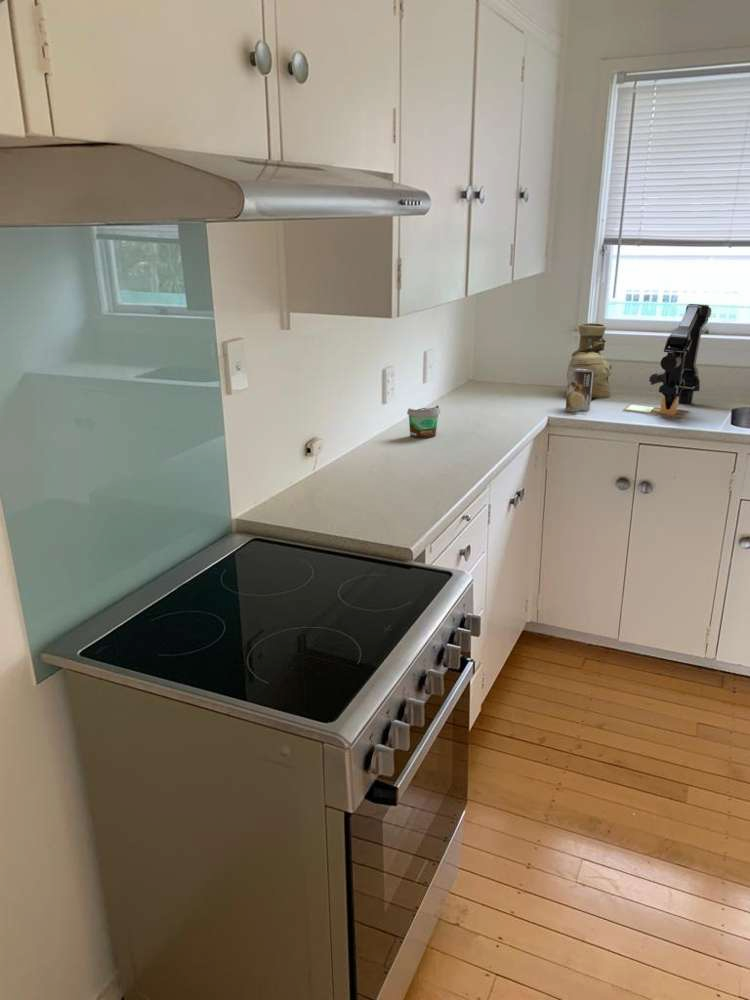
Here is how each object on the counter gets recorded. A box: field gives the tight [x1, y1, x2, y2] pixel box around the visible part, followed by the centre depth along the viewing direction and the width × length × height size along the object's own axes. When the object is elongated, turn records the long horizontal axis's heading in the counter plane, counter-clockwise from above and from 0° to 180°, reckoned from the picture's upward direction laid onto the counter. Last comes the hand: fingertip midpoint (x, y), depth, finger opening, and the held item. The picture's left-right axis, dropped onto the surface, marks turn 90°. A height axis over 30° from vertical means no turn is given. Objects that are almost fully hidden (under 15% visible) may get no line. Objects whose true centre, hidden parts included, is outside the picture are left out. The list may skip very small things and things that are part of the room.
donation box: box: [660, 395, 679, 415], centre depth 286 cm, size 5×5×6 cm
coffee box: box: [564, 368, 594, 413], centre depth 291 cm, size 9×6×16 cm
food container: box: [406, 404, 441, 440], centre depth 255 cm, size 12×6×10 cm, turn 117°
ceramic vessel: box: [566, 322, 612, 400], centre depth 314 cm, size 19×21×30 cm
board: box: [621, 403, 689, 420], centre depth 290 cm, size 14×22×1 cm, turn 59°
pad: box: [626, 404, 656, 413], centre depth 292 cm, size 9×9×1 cm
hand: (669, 407), depth 287 cm, fingers closed on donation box, 5 cm apart
